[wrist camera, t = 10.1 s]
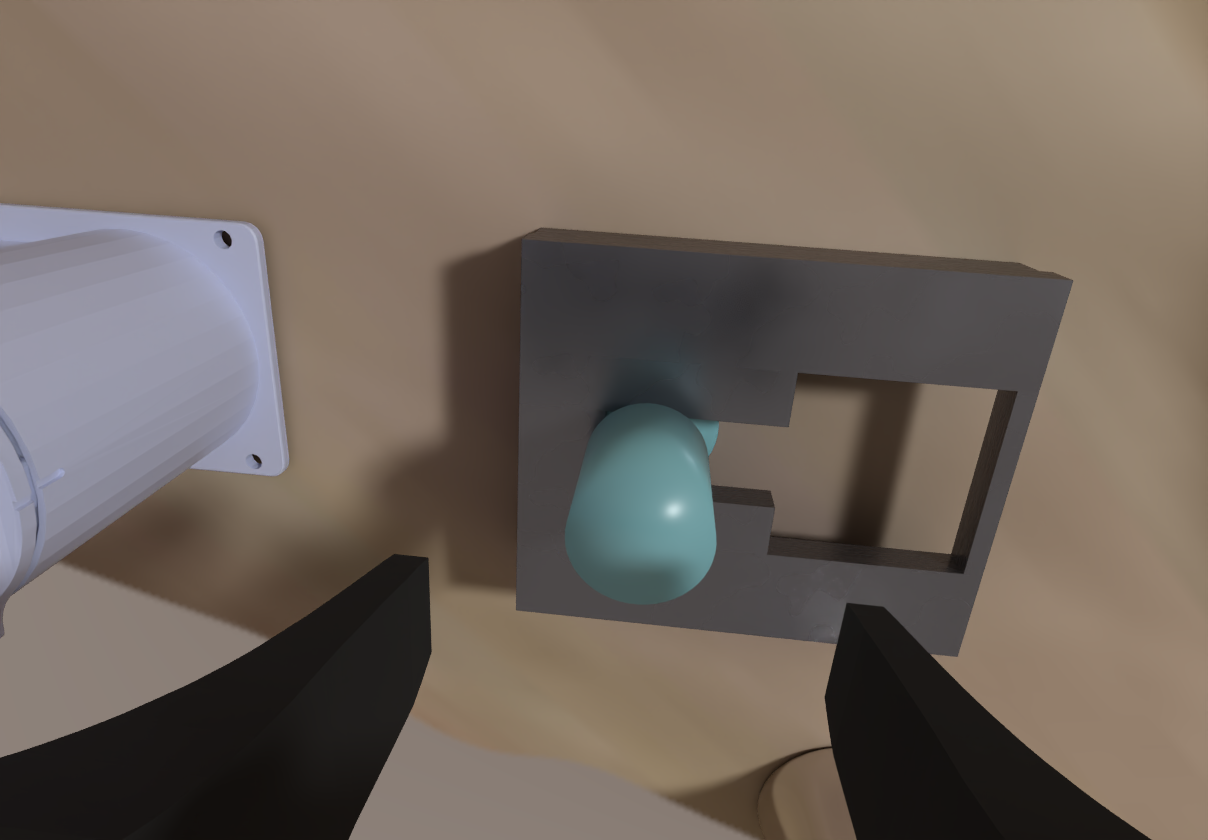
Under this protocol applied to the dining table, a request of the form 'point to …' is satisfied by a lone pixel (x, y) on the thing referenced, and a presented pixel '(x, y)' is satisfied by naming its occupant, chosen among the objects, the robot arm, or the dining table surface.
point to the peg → (644, 505)
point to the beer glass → (805, 801)
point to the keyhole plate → (766, 407)
